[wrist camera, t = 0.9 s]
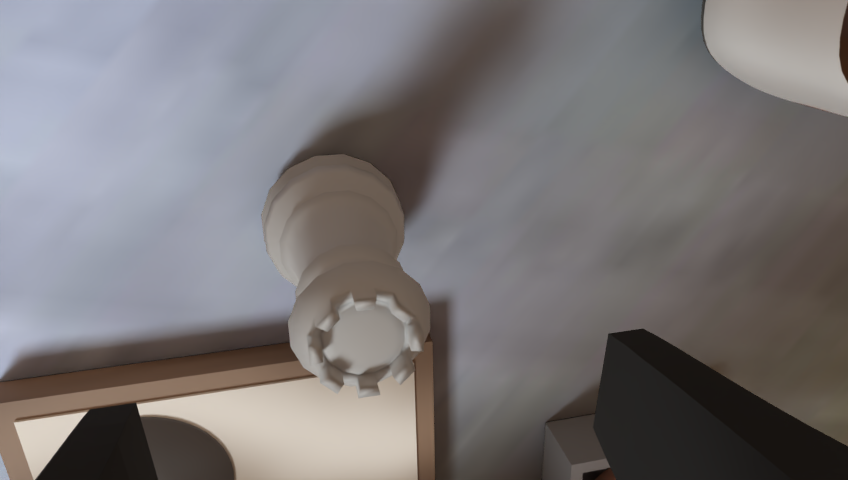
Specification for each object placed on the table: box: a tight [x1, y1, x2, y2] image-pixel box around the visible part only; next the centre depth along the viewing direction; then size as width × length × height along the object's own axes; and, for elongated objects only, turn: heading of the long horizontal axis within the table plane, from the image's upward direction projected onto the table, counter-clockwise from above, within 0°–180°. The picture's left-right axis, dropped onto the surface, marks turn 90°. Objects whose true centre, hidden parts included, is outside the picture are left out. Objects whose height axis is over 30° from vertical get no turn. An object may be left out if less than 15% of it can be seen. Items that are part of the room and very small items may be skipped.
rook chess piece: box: [261, 154, 430, 398], centre depth 17 cm, size 4×4×8 cm
